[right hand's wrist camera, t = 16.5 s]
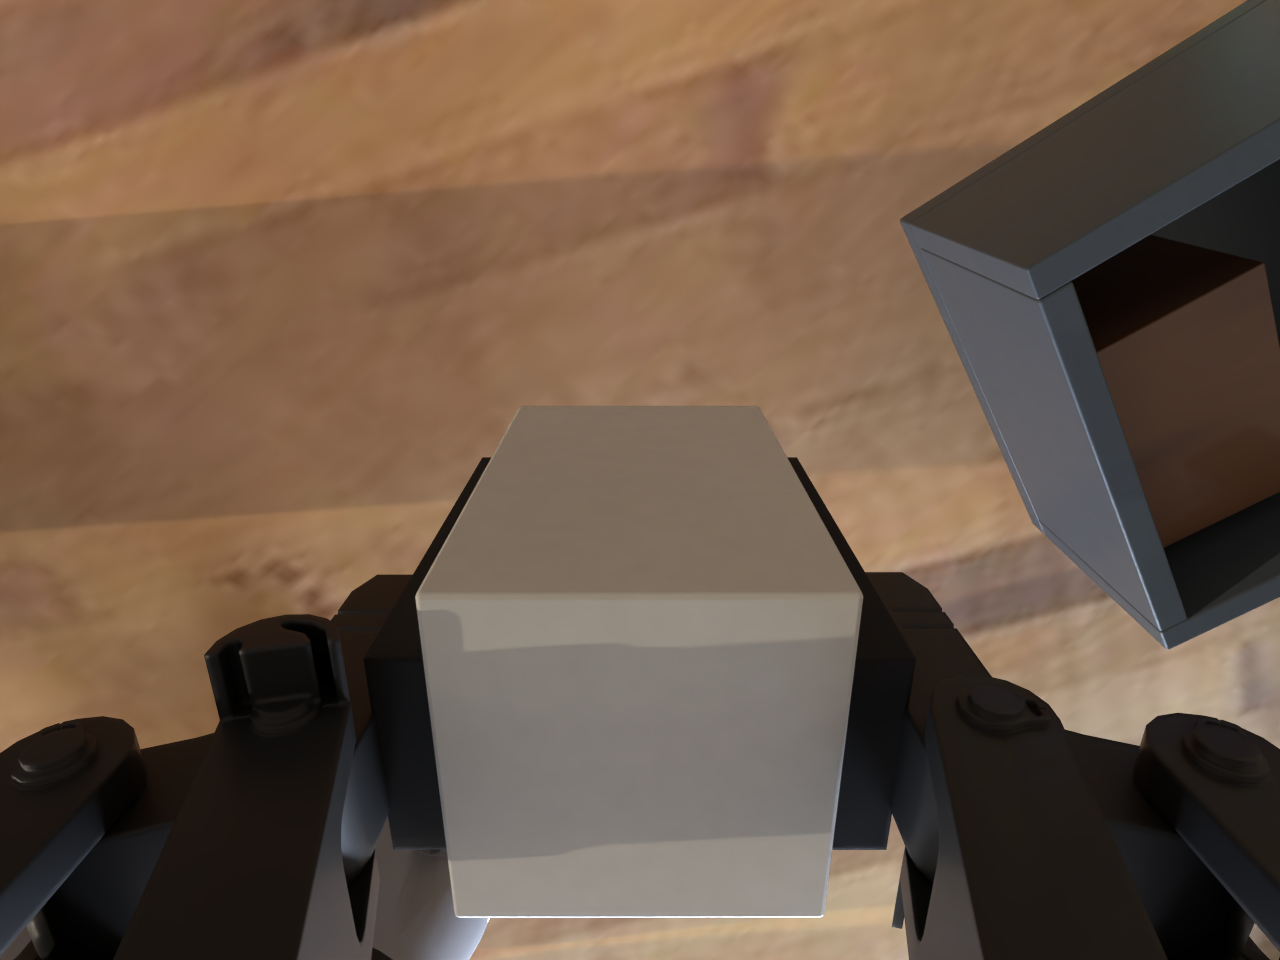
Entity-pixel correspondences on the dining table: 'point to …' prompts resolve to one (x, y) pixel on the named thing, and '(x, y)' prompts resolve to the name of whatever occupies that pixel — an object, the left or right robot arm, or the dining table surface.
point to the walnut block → (1190, 376)
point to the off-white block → (639, 671)
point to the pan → (1055, 324)
